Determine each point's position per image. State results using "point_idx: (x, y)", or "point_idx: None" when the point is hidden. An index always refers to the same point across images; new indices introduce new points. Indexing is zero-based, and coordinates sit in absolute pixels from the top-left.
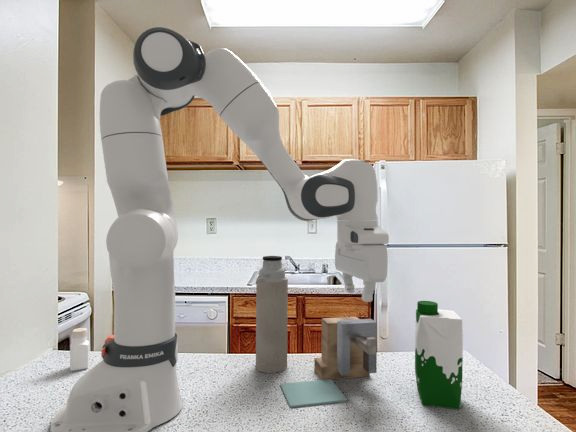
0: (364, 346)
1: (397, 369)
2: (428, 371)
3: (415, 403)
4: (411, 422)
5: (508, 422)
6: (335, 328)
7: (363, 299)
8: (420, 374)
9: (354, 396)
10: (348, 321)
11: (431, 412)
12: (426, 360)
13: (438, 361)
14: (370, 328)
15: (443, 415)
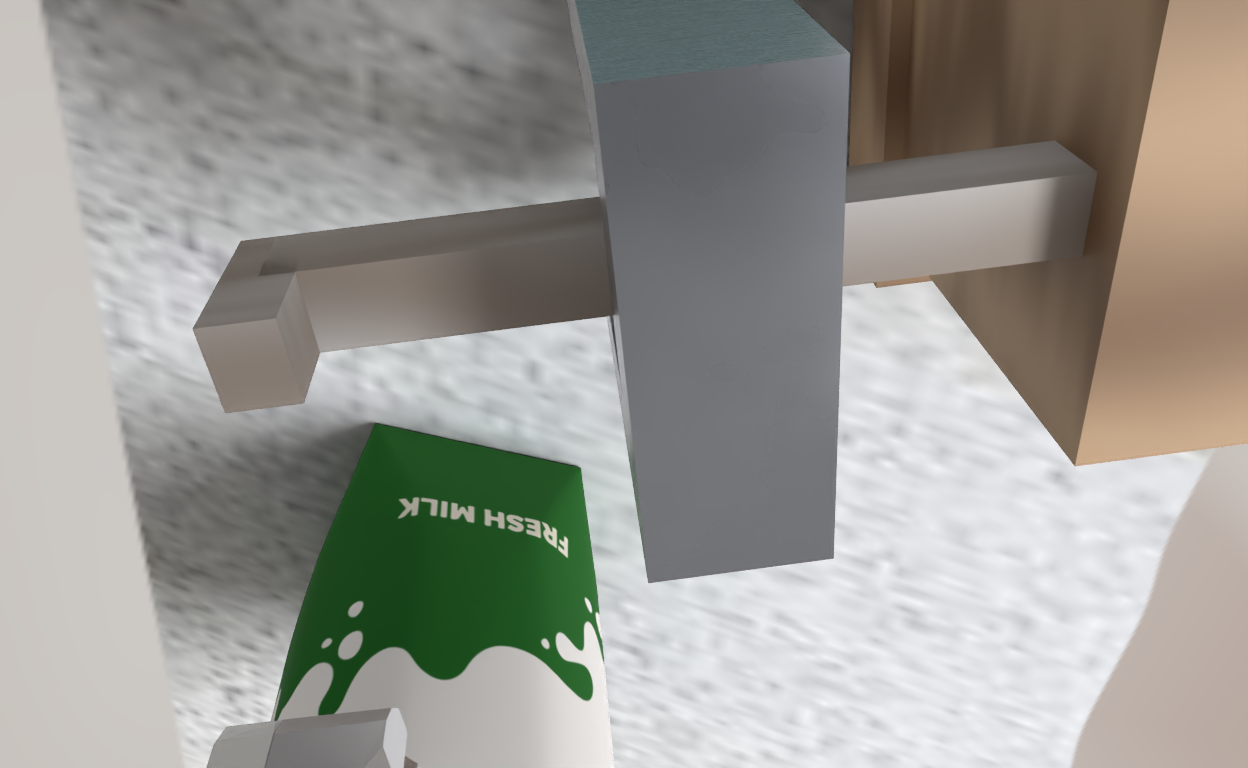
0: (354, 250)
1: (900, 456)
2: (315, 604)
3: (402, 393)
4: (153, 286)
5: (217, 704)
6: (1106, 52)
7: (284, 734)
8: (383, 544)
9: (519, 10)
10: (752, 234)
11: (291, 436)
12: (316, 658)
13: (272, 718)
14: (632, 461)
15: (260, 481)
